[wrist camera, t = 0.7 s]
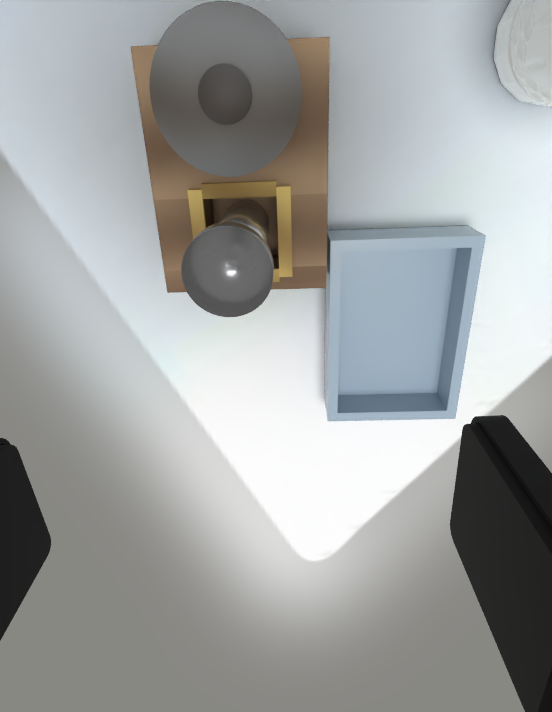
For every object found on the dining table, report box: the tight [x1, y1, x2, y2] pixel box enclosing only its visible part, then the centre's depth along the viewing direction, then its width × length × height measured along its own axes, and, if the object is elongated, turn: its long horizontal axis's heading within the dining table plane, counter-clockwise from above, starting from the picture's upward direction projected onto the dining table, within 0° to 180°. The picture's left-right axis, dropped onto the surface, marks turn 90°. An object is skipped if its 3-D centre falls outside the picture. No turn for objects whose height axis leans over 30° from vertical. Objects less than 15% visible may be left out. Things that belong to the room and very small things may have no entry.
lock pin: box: [181, 200, 274, 317], centre depth 25 cm, size 4×4×11 cm
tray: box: [325, 225, 485, 421], centre depth 33 cm, size 13×9×3 cm
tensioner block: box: [131, 1, 329, 293], centre depth 26 cm, size 14×10×8 cm
